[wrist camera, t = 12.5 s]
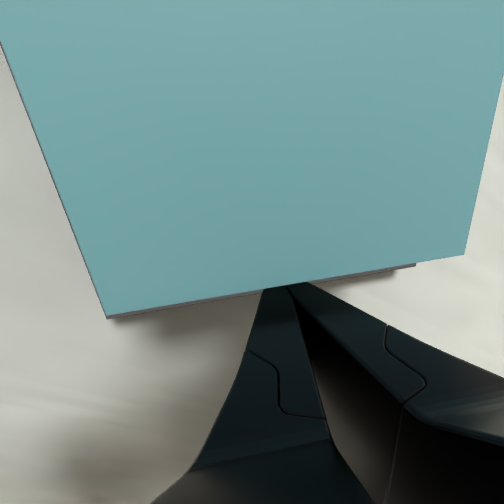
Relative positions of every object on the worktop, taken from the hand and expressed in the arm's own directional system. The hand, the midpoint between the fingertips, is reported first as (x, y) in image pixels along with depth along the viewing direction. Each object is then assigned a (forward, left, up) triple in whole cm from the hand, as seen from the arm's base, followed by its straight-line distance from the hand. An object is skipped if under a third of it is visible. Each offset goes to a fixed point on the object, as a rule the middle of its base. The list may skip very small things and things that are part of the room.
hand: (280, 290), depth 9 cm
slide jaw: (+5, 0, -2) cm, 6 cm away
